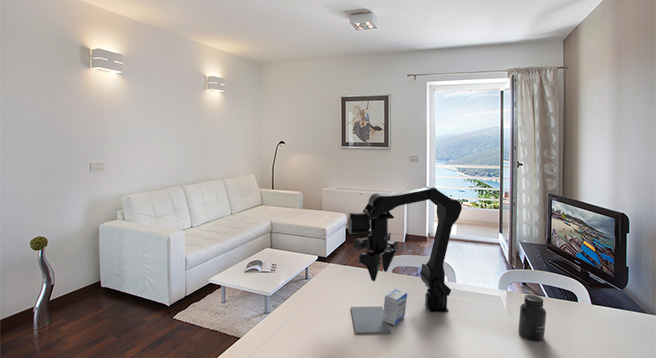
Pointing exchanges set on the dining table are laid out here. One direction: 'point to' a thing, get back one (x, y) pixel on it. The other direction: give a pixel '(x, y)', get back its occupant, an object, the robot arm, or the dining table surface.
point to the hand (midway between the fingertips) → (379, 276)
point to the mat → (369, 320)
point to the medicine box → (394, 306)
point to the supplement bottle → (532, 318)
